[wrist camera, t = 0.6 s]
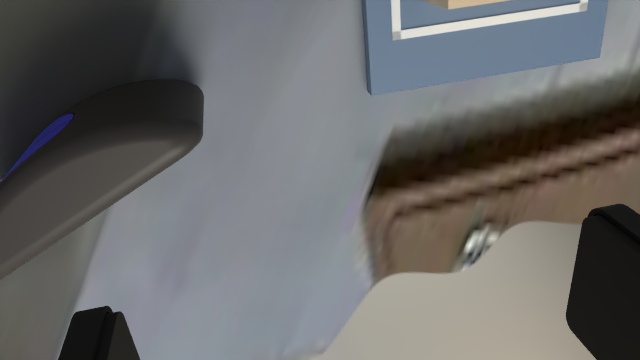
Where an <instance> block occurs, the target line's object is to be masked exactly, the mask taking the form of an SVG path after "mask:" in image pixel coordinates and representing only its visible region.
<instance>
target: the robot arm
mask: <svg viewBox="0 0 640 360" xmlns="http://www.w3.org/2000/svg"><path fill="white" fill-rule="evenodd" d="M566 320H567V323H568V326H569V328H570V329H571V331H572V332H573V333H574V334H575V335H576V337H577V338H578V339H579V340H580V341H581V342H582V343H583V345H584V346H585V347H586V348H587V349H588V350H589V351H590V353H591V354H592V355H593V356H594V357H595V358H596V359H597V360H640V215H639V214H638V213H636V212H635V211H634V210H632V209H631V208H629V207H628V206H626V205H624V204H615V205H610V206H605V207H600V208H595V209H593V210H591V211H590V213H589V215H588V217H587V218H585V219H584V220H583V223H582V227H581V233H580V239H579V244H578V250H577V255H576V261H575V266H574V272H573V278H572V283H571V289H570V294H569V299H568V305H567V310H566ZM58 360H140V358H139V355H138V353H137V350H136V347H135V344H134V342H133V339H132V336H131V334H130V331H129V328H128V326H127V323H126V320H125V317H124V315H123V313H122V312H120V311H119V312H114V313H113V312H112V309H111V308H110V307H109V306H104V307H99V308H94V309H89V310H84V311H79V312H76V313H75V314H74V315H73V317H72V319H71V322H70V325H69V328H68V332H67V335H66V338H65V341H64V344H63V347H62V350H61V353H60V356H59V359H58Z"/></svg>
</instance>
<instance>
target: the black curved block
mask: <svg viewBox="0 0 640 360" xmlns="http://www.w3.org/2000/svg"><path fill="white" fill-rule="evenodd" d="M203 107H204V96H203V92H202V90H201V89H200V88H199V87H198V86H197V85H195V84H192V83H189V82H185V81H180V80H150V81H142V82H136V83H131V84H127V85H123V86H119V87H116V88H113V89H110V90H107V91H104V92H102V93H99V94H97V95H95V96H92V97H90V98H88V99H86V100H84V101H82V102H81V103H79V104H77V105H75V106H74V107H72V108H70V109H69V110H68V111H66V112H65V113H63V114H62V115H60V116H59V117H58V118H57V119H55V120H54V121H53V122H52V123H50V124H49V125H48V126H47V127H46V128H45V129H44V130H43V131H42V132H41V133H40V134H39V135H38V136H37V137H36V138H35V139H34V141H33V142H32V143H31V144H30V146H29V147H28V148H27V149H26V150H25V152H24V153H23V154H22V155H21V157H20V158H19V159H18V160H17V162H16V163H15V164H14V165H13V167H12V168H11V169H10V170H9V172H8V173H7V174H6V175H5V176H4V178H3V179H1V180H0V280H1V279H3V278H4V277H6V276H7V275H9V274H10V273H12V272H13V271H14V270H16V269H17V268H19V267H20V266H22V265H23V264H25V263H26V262H28V261H29V260H31V259H32V258H34V257H35V256H37V255H38V254H40V253H41V252H43V251H44V250H46V249H47V248H49V247H50V246H52V245H53V244H55V243H56V242H58V241H59V240H61V239H62V238H64V237H65V236H67V235H68V234H70V233H71V232H73V231H74V230H75V229H77V228H78V227H80V226H81V225H83V224H84V223H86V222H87V221H89V220H90V219H92V218H93V217H95V216H96V215H98V214H99V213H101V212H102V211H104V210H105V209H107V208H108V207H110V206H111V205H113V204H114V203H116V202H117V201H119V200H120V199H122V198H123V197H125V196H126V195H128V194H129V193H131V192H132V191H133V190H135V189H136V188H138V187H139V186H141V185H142V184H144V183H145V182H147V181H148V180H150V179H151V178H153V177H154V176H156V175H157V174H159V173H160V172H162V171H163V170H165V169H166V168H168V167H169V166H171V165H172V164H174V163H175V162H177V161H178V160H180V159H181V158H182V157H184V156H185V155H186V154H188V153H189V152H190V151H191V150H192V149H193V148H194V147H195V146H196V145H197V144H198V143H199V142H200V141H201V139H202V136H203ZM58 132H59V133H58Z"/></svg>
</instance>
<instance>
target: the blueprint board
mask: <svg viewBox="0 0 640 360" xmlns="http://www.w3.org/2000/svg"><path fill="white" fill-rule="evenodd" d="M607 6H608V0H362V8H363V24H364V39H365V55H366V70H367V86H368V92H369V93H370V95H371V96H374V95H379V94H385V93H391V92H397V91H403V90H409V89H415V88H421V87H427V86H433V85H439V84H445V83H451V82H457V81H463V80H469V79H475V78H481V77H487V76H493V75H499V74H505V73H511V72H517V71H523V70H529V69H535V68H541V67H547V66H553V65H559V64H565V63H571V62H577V61H583V60H589V59H595V58H600V53H601V46H602V39H603V33H604V26H605V19H606V12H607Z"/></svg>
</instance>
